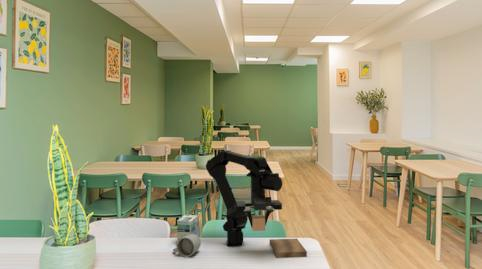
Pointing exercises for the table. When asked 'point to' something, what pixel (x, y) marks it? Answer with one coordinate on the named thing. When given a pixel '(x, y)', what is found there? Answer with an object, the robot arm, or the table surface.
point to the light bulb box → (187, 226)
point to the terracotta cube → (258, 222)
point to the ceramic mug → (188, 245)
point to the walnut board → (287, 248)
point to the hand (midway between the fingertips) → (258, 226)
